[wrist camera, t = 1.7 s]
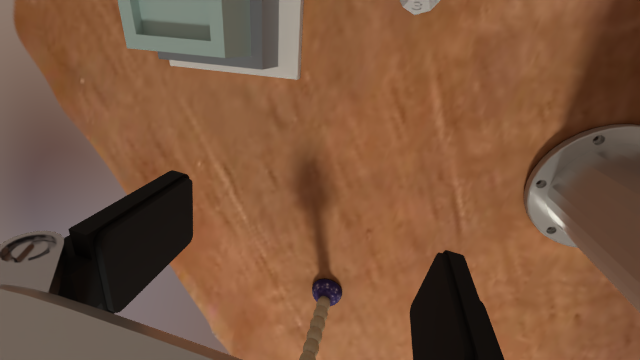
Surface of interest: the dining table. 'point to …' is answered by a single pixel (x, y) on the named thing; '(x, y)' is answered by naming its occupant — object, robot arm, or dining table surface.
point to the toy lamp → (320, 315)
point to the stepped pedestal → (219, 34)
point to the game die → (418, 5)
